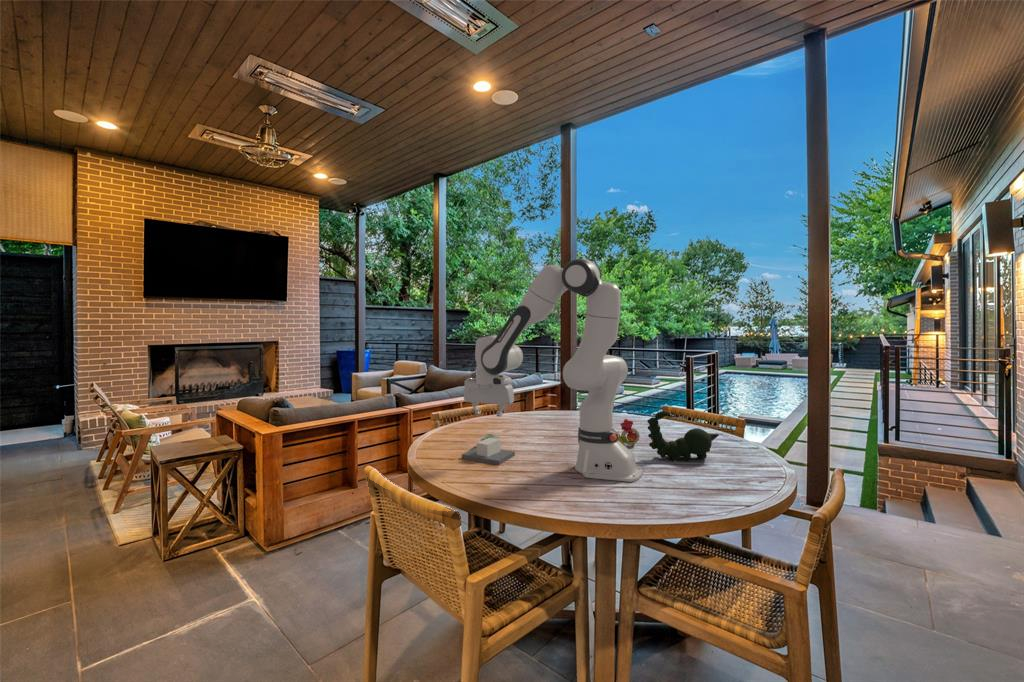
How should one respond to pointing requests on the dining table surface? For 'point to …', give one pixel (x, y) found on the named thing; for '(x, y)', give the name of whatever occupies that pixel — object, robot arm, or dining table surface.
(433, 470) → the dining table surface
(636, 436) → the bird rattle
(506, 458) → the base plate
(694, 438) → the toy figurine
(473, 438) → the dining table surface
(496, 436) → the sage brick
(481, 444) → the cream brick
